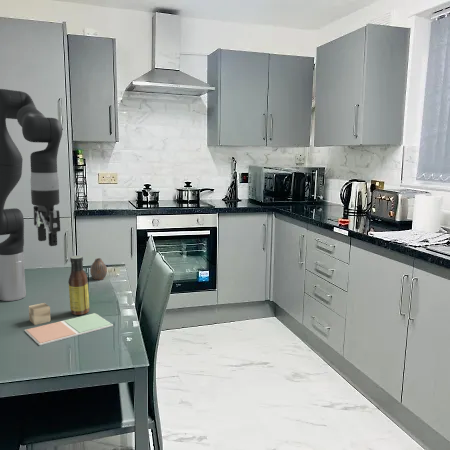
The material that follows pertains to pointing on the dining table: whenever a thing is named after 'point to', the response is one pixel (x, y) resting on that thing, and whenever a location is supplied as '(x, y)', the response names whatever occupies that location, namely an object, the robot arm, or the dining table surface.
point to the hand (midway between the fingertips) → (47, 243)
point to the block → (39, 313)
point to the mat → (67, 328)
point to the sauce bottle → (78, 287)
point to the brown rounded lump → (98, 269)
